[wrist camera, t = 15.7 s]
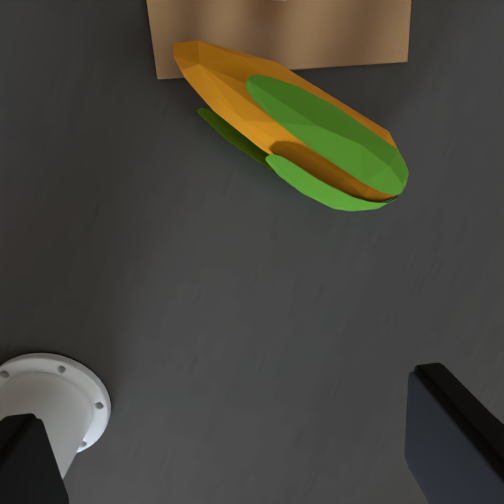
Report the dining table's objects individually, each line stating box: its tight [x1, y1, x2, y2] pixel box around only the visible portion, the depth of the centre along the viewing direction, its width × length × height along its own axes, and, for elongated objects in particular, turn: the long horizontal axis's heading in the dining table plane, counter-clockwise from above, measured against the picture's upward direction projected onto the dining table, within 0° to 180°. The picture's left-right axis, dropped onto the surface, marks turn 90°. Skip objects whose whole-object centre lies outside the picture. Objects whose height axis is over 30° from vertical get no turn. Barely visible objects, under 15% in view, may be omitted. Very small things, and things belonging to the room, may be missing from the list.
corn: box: [173, 41, 409, 211], centre depth 26 cm, size 7×8×20 cm
